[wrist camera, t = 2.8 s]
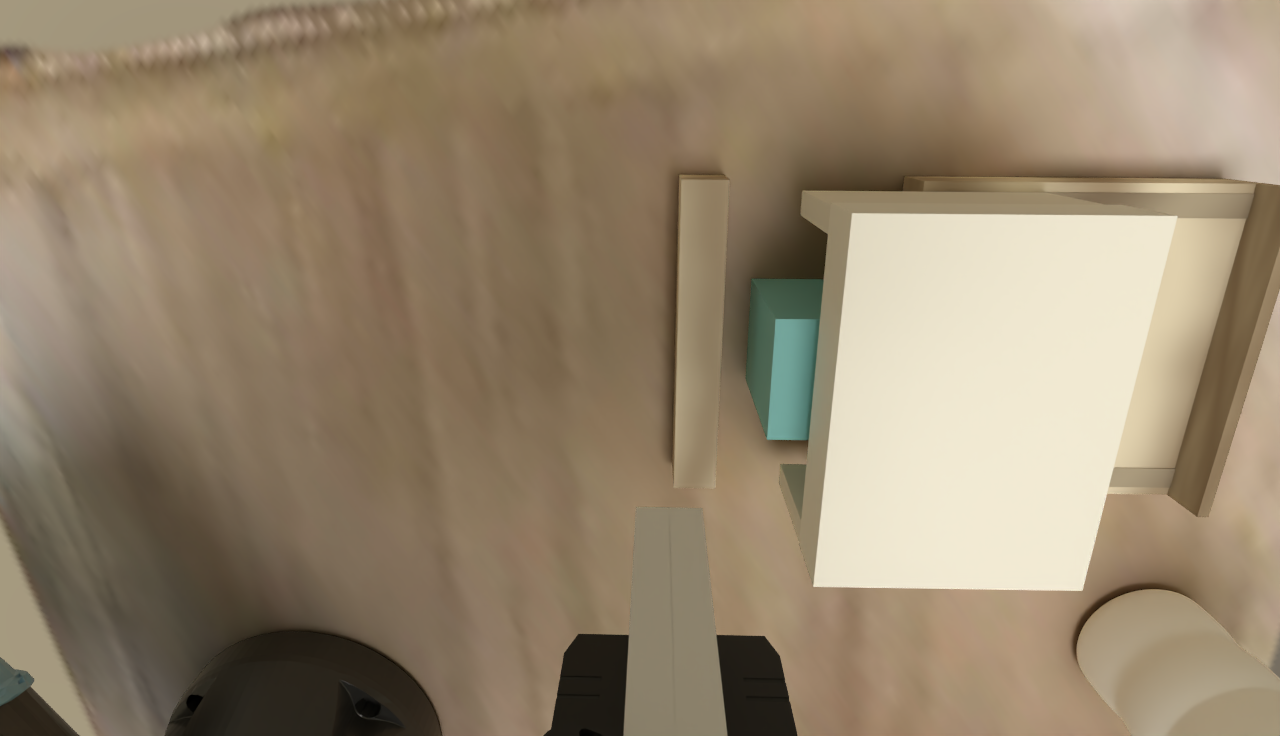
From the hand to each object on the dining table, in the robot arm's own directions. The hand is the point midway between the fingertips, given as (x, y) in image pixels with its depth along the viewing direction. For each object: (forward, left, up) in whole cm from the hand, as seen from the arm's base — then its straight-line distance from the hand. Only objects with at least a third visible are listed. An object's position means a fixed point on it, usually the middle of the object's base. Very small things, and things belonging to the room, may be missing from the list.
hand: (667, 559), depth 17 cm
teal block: (+7, 0, -19) cm, 20 cm away
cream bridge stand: (+11, 0, -16) cm, 20 cm away
